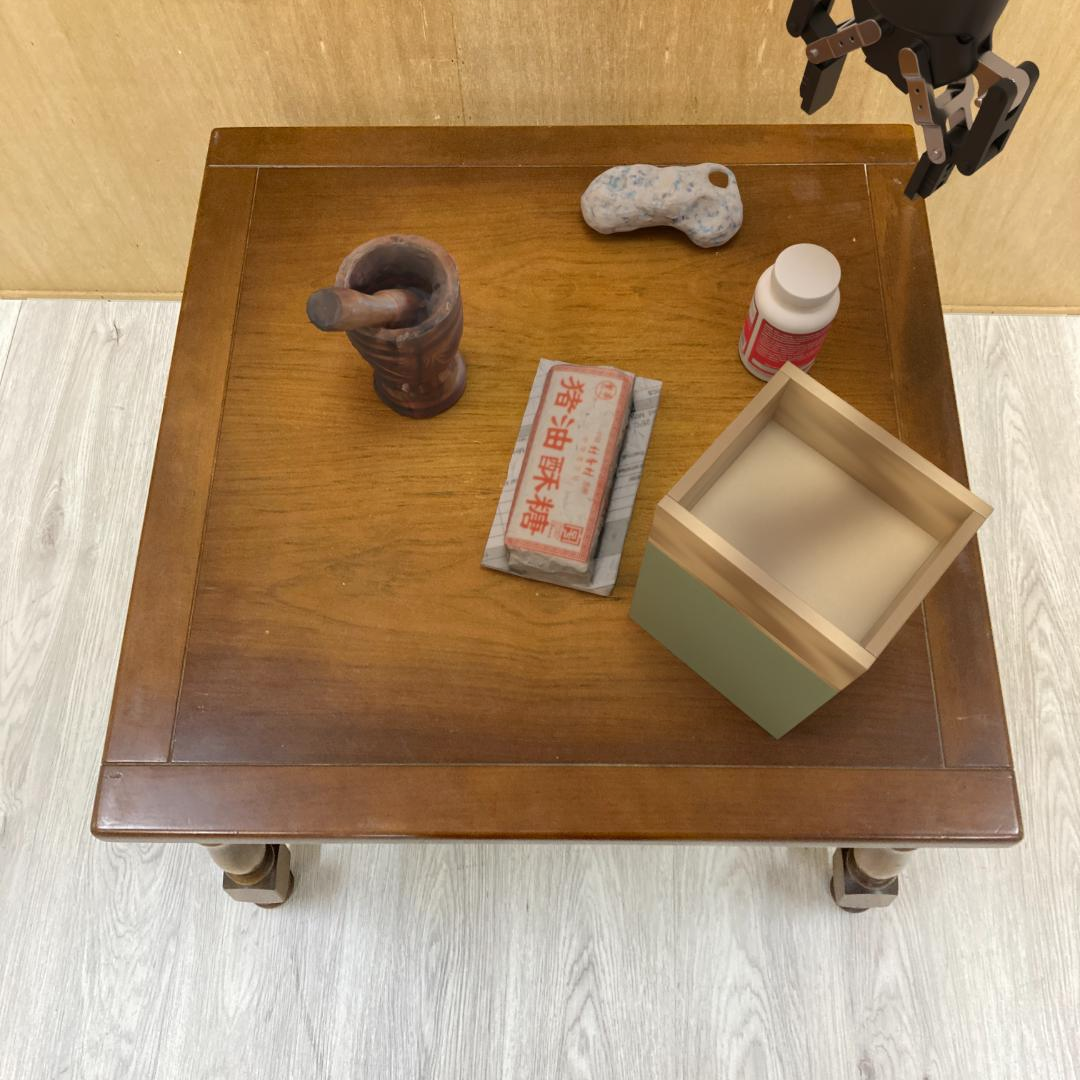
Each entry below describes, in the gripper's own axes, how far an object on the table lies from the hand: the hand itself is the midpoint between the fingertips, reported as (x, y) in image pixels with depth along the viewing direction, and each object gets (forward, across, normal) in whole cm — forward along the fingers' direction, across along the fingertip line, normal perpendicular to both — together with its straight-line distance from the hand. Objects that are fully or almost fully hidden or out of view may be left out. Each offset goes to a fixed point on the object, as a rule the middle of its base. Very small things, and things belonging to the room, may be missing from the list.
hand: (865, 147), depth 62 cm
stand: (+22, -15, +19) cm, 32 cm away
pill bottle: (+22, 0, +2) cm, 22 cm away
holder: (+6, -15, +19) cm, 25 cm away
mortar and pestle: (+22, +15, +26) cm, 37 cm away
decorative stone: (+22, +15, 0) cm, 26 cm away
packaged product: (+22, +2, +21) cm, 31 cm away
